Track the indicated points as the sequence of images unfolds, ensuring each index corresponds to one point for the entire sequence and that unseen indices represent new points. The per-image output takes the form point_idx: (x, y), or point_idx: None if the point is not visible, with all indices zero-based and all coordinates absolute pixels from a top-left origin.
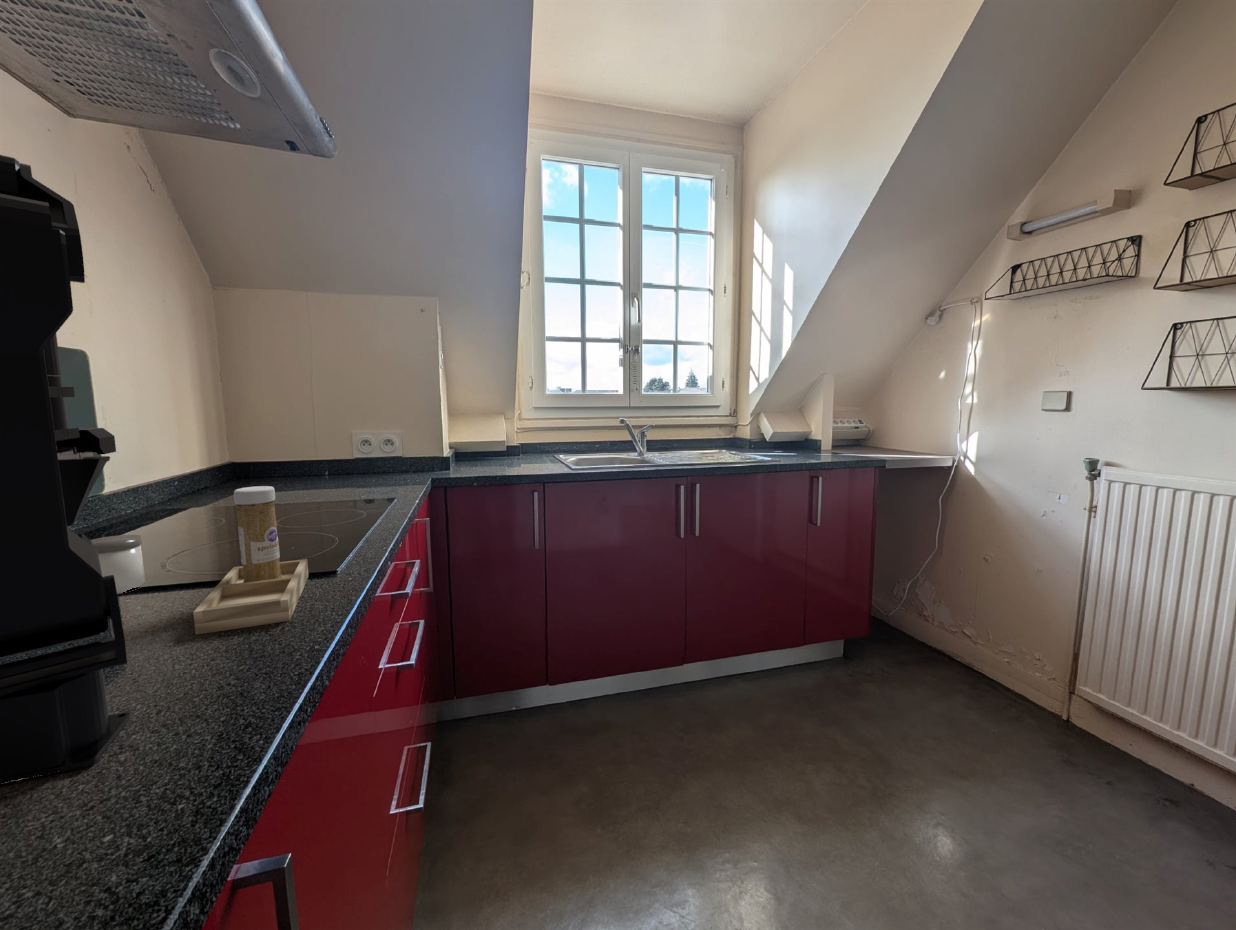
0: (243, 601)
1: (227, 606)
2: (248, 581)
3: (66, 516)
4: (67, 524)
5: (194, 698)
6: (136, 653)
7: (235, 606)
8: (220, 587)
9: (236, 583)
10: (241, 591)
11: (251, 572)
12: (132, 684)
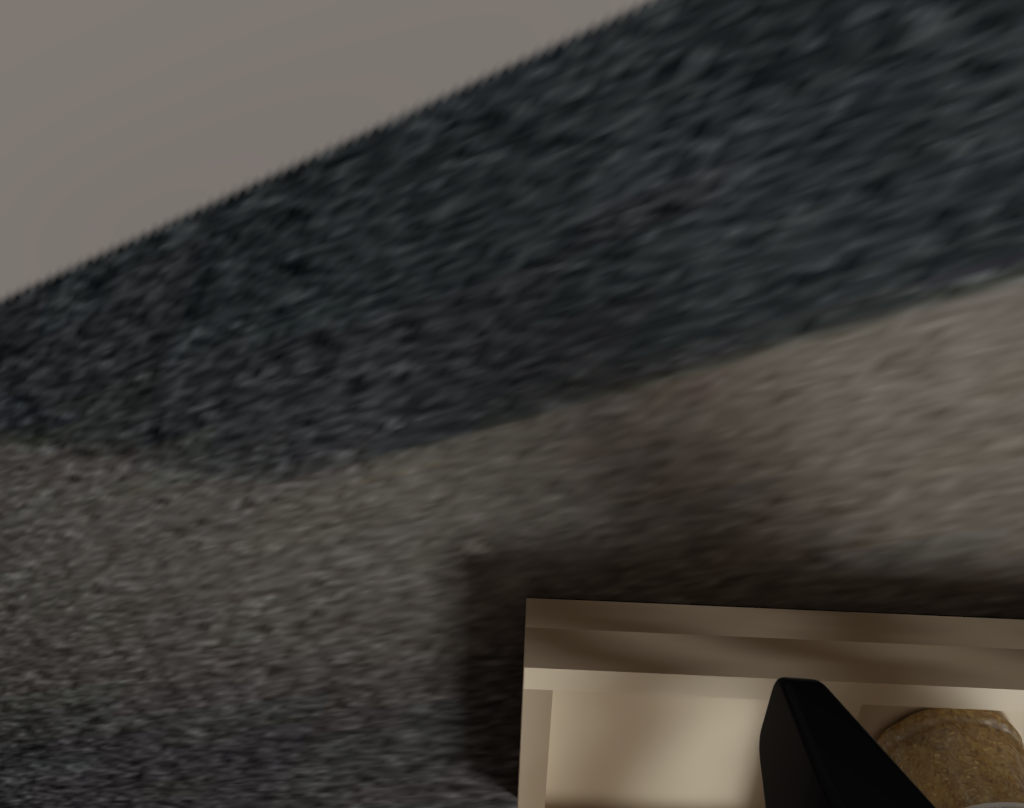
0: (721, 719)
1: (531, 746)
2: (907, 746)
3: (785, 803)
4: (764, 726)
5: (33, 671)
6: (426, 472)
7: (521, 763)
8: None
9: None
10: None
11: None
12: (163, 527)
